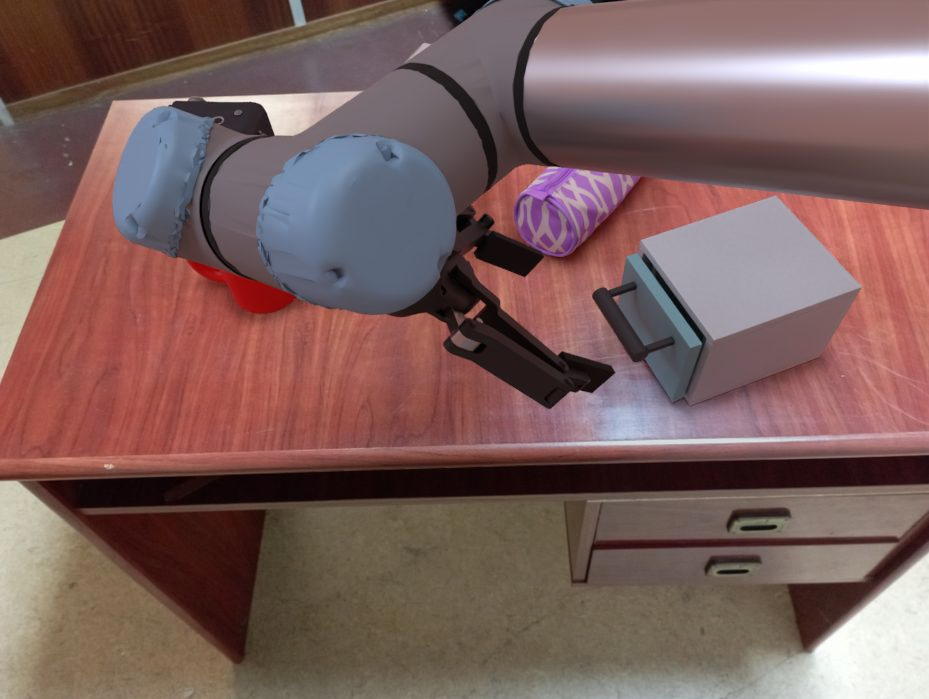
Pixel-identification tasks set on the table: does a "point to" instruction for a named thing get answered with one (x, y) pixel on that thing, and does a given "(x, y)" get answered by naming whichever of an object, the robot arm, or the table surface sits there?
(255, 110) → the camera
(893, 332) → the table surface
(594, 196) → the pencil case
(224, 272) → the mug
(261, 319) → the table surface
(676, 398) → the dispenser drawer
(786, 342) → the grey drawer cabinet
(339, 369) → the table surface
